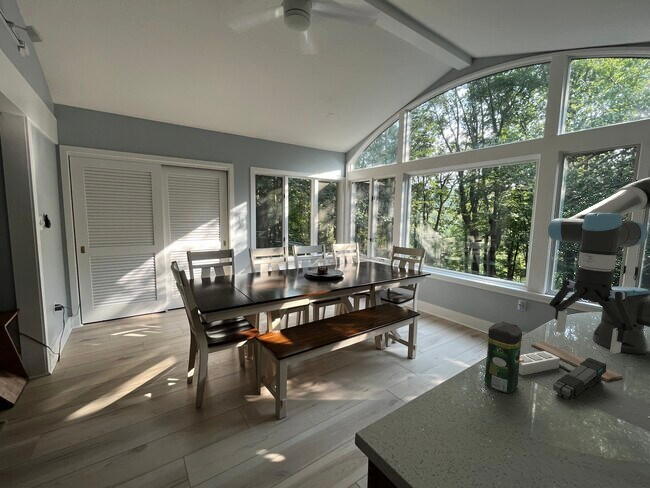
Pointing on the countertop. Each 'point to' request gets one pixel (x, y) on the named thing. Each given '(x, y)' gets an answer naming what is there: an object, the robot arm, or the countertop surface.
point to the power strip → (539, 363)
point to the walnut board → (572, 358)
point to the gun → (580, 378)
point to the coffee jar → (503, 357)
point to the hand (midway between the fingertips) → (585, 341)
